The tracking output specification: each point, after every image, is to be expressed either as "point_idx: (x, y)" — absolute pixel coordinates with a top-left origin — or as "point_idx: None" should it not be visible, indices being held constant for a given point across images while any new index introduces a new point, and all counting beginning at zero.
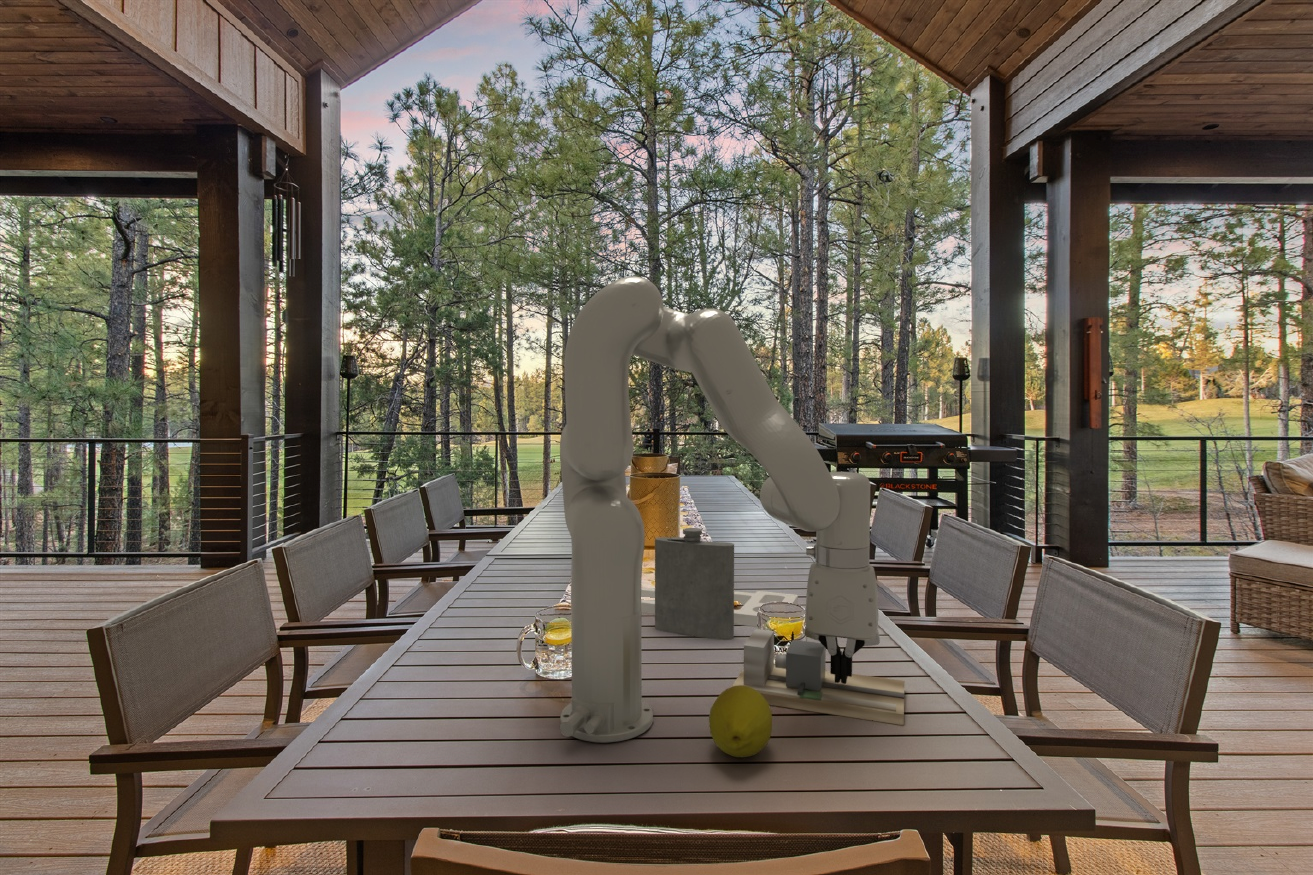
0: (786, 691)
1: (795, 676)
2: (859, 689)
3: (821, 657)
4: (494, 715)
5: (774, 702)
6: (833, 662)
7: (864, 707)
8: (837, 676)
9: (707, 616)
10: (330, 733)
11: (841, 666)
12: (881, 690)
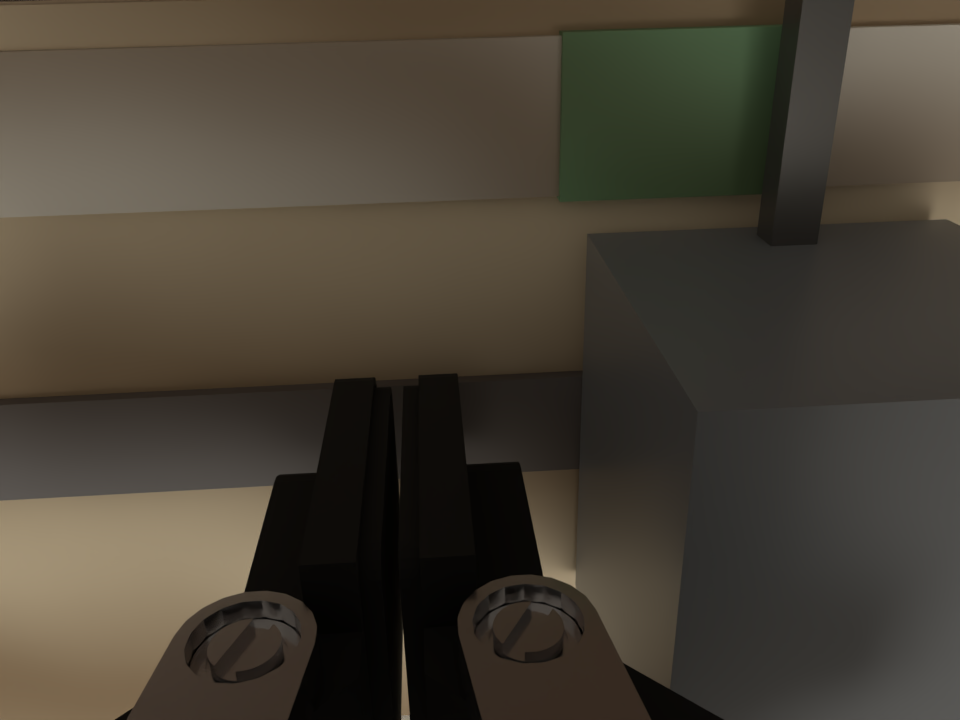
0: (939, 102)
1: (910, 261)
2: (225, 429)
3: (678, 475)
4: None
5: None
6: (495, 541)
7: (76, 38)
8: (427, 403)
9: None
10: None
11: (377, 480)
12: (28, 486)
